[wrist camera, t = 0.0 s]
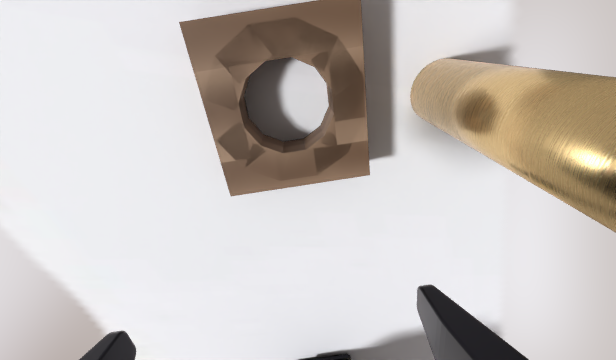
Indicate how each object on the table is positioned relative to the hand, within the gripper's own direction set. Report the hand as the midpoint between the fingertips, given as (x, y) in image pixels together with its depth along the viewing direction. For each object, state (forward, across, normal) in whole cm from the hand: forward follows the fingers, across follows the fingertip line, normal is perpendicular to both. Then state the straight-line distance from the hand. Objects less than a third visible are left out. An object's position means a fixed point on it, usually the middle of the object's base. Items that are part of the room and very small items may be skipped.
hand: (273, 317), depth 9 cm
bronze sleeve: (+15, -12, -3) cm, 19 cm away
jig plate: (+15, -1, -4) cm, 15 cm away
